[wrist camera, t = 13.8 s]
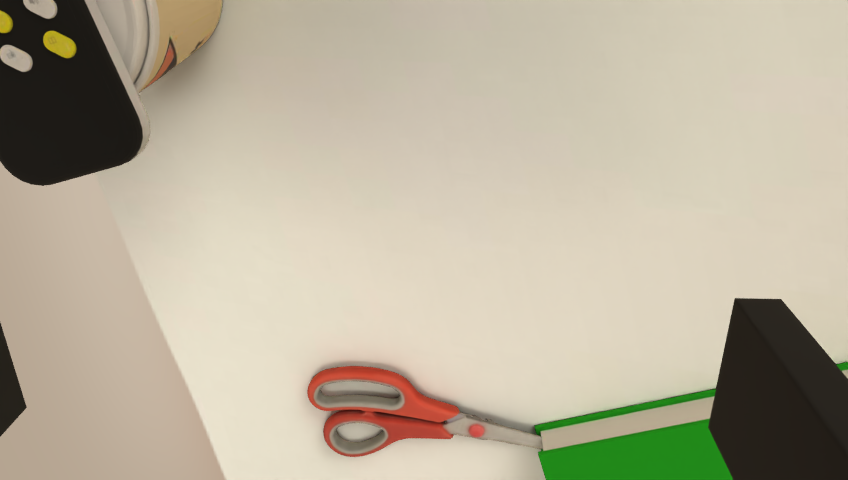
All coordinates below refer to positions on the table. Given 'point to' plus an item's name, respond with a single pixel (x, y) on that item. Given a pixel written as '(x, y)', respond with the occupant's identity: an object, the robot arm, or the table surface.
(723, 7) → the table surface
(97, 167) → the remote control
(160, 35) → the coffee cup
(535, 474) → the table surface
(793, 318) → the robot arm
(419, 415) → the scissors
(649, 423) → the book
